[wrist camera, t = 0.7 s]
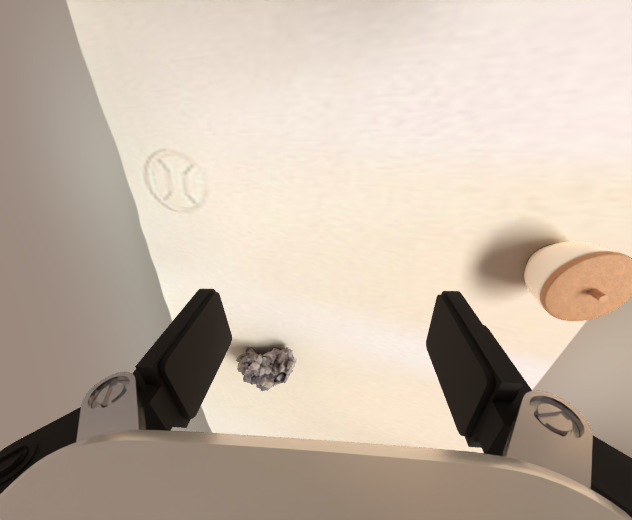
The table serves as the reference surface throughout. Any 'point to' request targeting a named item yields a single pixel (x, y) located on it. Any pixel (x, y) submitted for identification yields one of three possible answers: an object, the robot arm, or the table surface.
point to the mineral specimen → (266, 367)
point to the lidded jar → (579, 279)
